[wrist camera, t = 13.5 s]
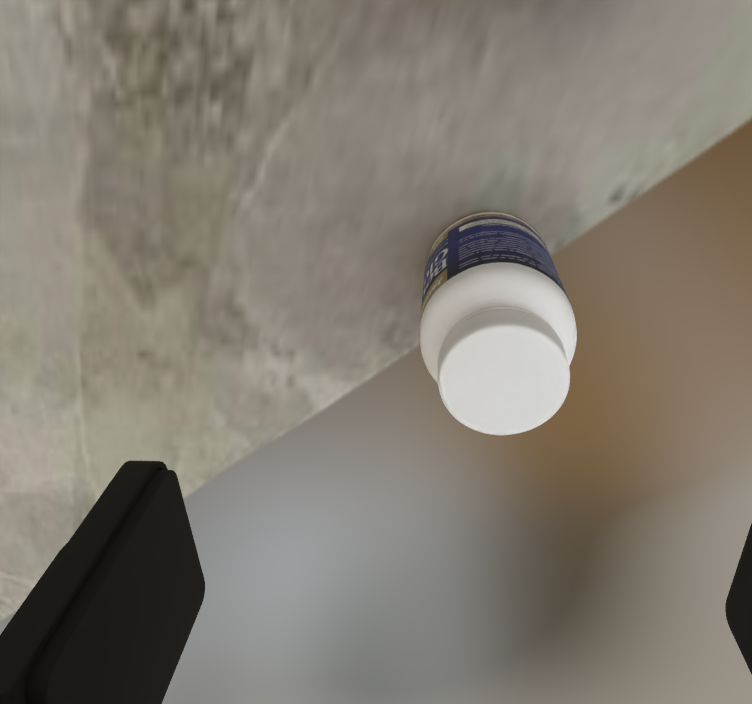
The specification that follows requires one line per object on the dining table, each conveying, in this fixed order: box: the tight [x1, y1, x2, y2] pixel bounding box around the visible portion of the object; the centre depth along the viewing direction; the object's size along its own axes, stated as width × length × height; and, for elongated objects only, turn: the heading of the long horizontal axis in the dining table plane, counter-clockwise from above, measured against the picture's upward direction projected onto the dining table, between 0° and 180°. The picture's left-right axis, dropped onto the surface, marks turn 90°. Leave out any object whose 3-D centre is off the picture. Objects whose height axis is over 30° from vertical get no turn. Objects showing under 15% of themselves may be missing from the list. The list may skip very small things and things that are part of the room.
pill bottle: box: [420, 212, 577, 435], centre depth 23 cm, size 5×5×10 cm
